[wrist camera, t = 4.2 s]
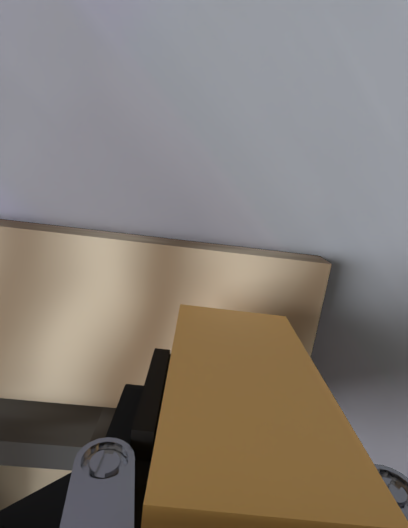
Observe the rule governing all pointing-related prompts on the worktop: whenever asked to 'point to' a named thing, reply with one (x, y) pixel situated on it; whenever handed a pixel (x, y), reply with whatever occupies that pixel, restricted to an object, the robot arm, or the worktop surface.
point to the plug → (256, 435)
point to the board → (113, 327)
